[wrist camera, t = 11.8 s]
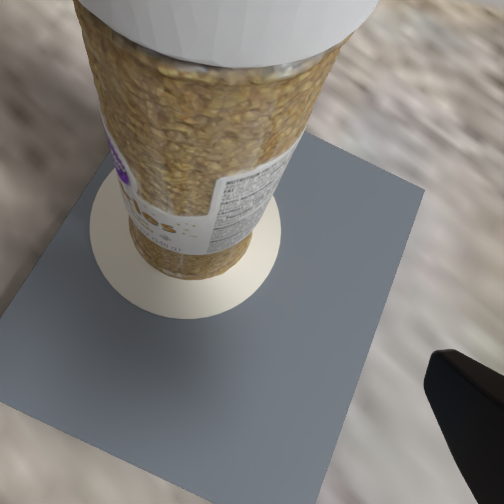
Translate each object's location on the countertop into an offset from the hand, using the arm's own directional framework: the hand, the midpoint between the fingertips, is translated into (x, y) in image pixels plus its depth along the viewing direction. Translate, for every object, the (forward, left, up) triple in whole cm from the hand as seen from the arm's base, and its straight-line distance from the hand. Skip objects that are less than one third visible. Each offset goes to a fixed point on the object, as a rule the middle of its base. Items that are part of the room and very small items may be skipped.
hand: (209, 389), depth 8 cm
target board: (+4, +1, -8) cm, 9 cm away
